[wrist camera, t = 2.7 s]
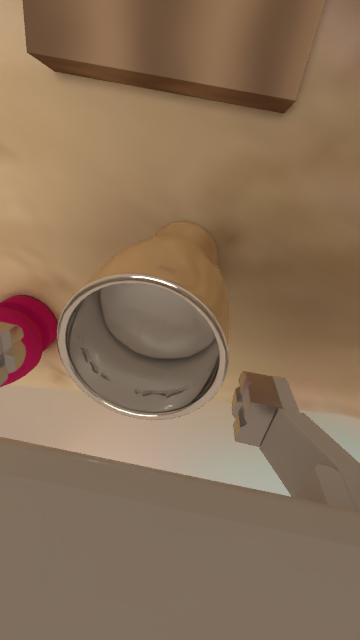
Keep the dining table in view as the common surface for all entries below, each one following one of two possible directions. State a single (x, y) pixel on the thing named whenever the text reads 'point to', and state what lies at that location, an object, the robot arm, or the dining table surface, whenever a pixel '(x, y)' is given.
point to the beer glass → (151, 327)
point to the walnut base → (181, 45)
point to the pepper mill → (29, 329)
